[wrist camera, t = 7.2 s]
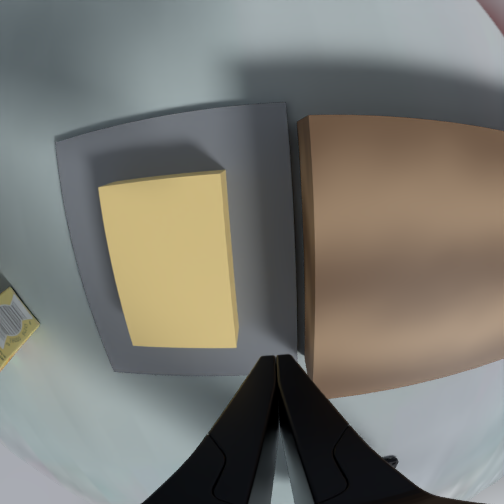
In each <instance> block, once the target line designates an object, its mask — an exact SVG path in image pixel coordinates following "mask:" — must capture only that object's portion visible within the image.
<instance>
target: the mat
mask: <svg viewBox="0 0 504 504" xmlns="http://www.w3.org/2000/svg"><path fill="white" fill-rule="evenodd" d="M55 144H56V153H57V161H58V169H59V176H60V183H61V189H62V195H63V201H64V207H65V212H66V217H67V222H68V227H69V231H70V236H71V240H72V244H73V249H74V253H75V257H76V261H77V264H78V268H79V272H80V275H81V279H82V282H83V286H84V289H85V293H86V296H87V299H88V302H89V305H90V308H91V311H92V314H93V317H94V320H95V323H96V326H97V329H98V332H99V335H100V337H101V340H102V343H103V345H104V348H105V350H106V353H107V356H108V358H109V361H110V363H111V366H112V368H113V370H114V372H124V373H137V374H154V375H179V376H239V375H249V373H250V372H251V370H252V369H253V367H254V366H255V364H256V363H257V361H258V359H259V358H260V357H261V356H266V355H274V356H275V357H276V356H277V355H281V354H290V355H292V357H293V358H294V359H295V360H296V361H297V297H296V262H295V237H294V215H293V196H292V179H291V164H290V149H289V136H288V123H287V111H286V102H278V103H262V104H249V105H238V106H228V107H219V108H211V109H203V110H196V111H189V112H183V113H177V114H171V115H165V116H159V117H154V118H149V119H144V120H139V121H134V122H130V123H125V124H121V125H116V126H112V127H108V128H104V129H100V130H96V131H93V132H89V133H85V134H82V135H78V136H75V137H71V138H68V139H65V140H61V141H58V142H55ZM214 170H226V181H227V194H228V207H229V220H230V232H231V244H232V256H233V268H234V279H235V291H236V302H237V312H238V323H239V331H238V340H237V348H172V347H147V346H133V344H132V341H131V337H130V334H129V331H128V327H127V324H126V320H125V316H124V313H123V309H122V305H121V302H120V298H119V294H118V290H117V285H116V281H115V277H114V273H113V268H112V264H111V259H110V254H109V249H108V244H107V239H106V234H105V228H104V222H103V216H102V210H101V204H100V197H99V190H98V187H101V186H103V185H106V184H109V183H112V182H115V181H122V180H130V179H137V178H145V177H153V176H162V175H171V174H181V173H191V172H202V171H214Z"/></svg>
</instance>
